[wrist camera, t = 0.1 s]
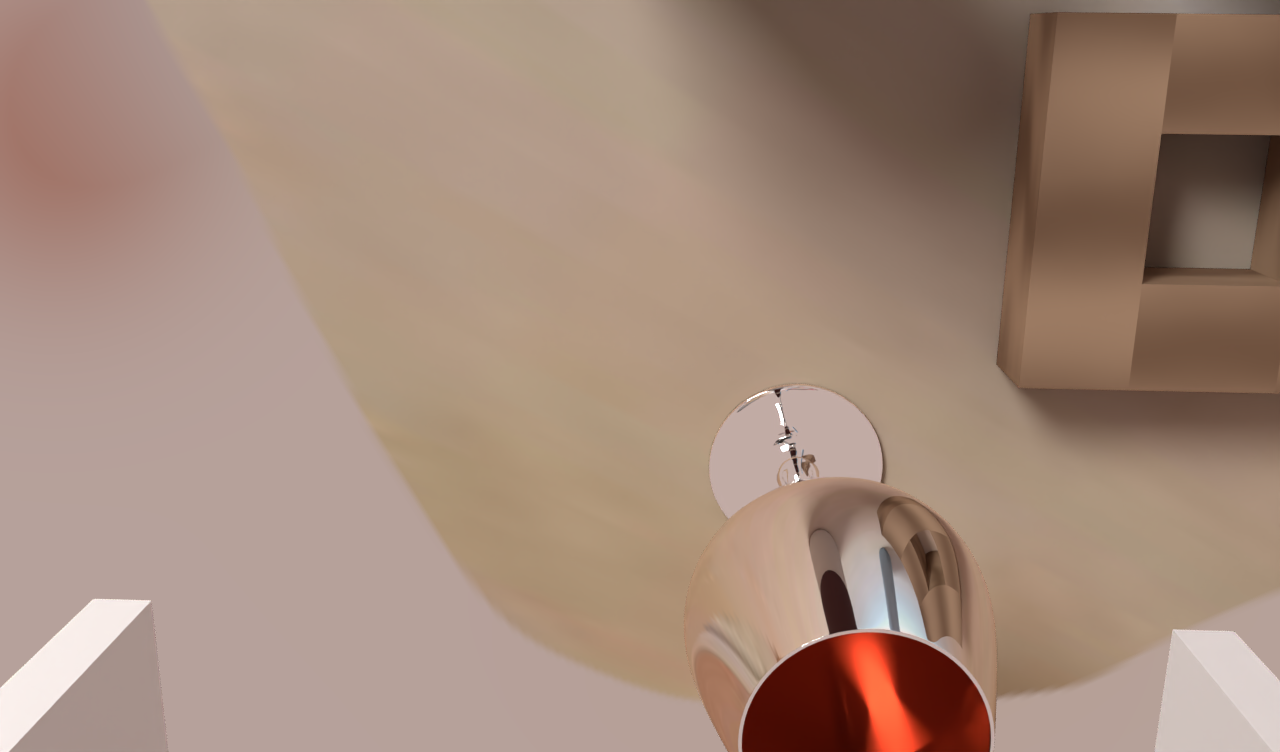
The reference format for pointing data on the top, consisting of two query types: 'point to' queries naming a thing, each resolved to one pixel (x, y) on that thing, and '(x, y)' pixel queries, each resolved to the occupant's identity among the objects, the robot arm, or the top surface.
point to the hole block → (1136, 206)
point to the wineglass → (833, 594)
